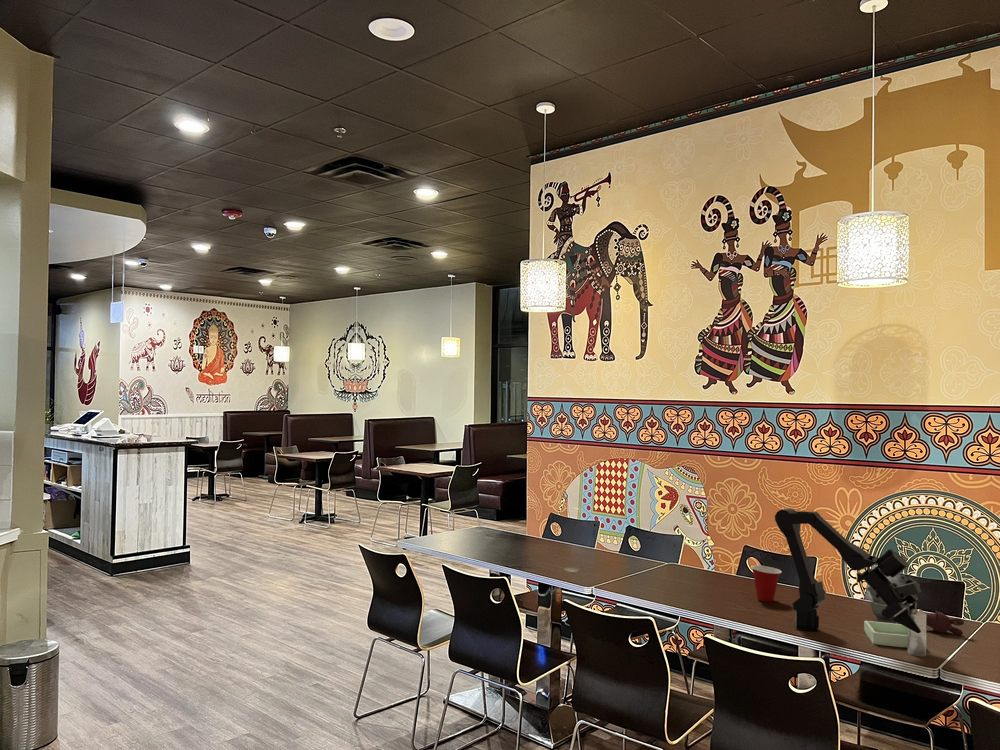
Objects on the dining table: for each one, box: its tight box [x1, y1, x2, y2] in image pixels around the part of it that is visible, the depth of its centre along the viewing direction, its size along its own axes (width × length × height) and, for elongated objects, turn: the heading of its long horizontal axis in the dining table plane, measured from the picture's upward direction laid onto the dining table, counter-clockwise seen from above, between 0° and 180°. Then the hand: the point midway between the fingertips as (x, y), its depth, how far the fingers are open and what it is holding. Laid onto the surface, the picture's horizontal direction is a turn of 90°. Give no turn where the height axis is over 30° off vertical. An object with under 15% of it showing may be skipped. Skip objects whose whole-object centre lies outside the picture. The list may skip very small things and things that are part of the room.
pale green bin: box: [863, 620, 908, 649], centre depth 230 cm, size 14×14×4 cm
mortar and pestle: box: [866, 585, 897, 624], centre depth 250 cm, size 11×9×12 cm
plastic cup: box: [751, 564, 782, 603], centre depth 275 cm, size 11×11×12 cm
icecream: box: [925, 610, 965, 636], centre depth 241 cm, size 7×7×15 cm
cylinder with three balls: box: [907, 608, 927, 657], centre depth 217 cm, size 5×5×13 cm
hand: (922, 630), depth 217 cm, fingers closed on cylinder with three balls, 5 cm apart
